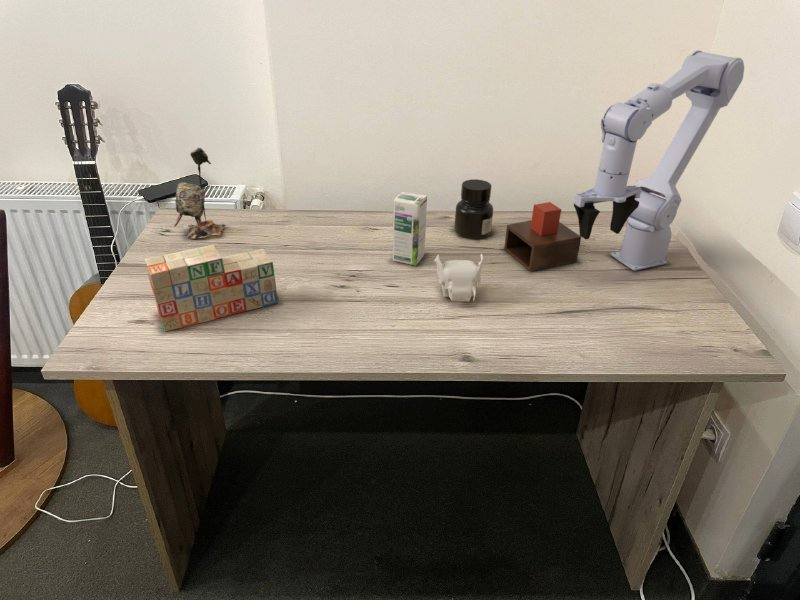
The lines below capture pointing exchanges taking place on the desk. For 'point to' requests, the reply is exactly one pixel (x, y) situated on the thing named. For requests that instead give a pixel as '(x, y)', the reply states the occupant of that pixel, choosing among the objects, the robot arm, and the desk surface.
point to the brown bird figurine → (195, 203)
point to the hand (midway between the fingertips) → (599, 234)
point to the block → (545, 218)
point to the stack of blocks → (209, 284)
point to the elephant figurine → (458, 278)
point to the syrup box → (409, 227)
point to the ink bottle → (474, 210)
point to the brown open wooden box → (541, 246)
